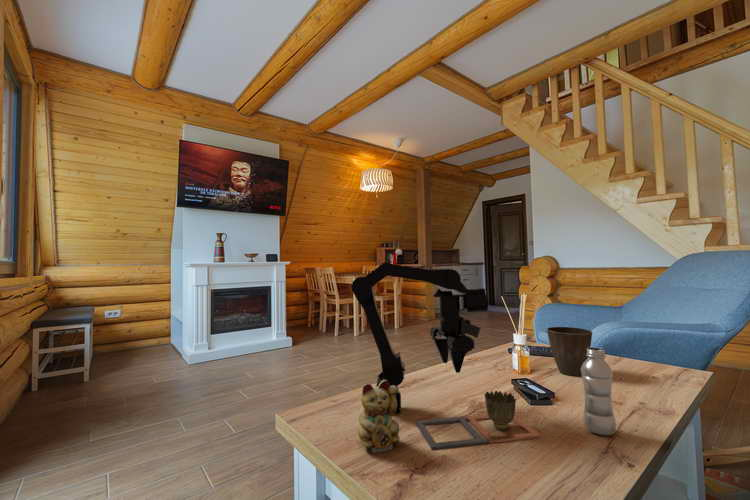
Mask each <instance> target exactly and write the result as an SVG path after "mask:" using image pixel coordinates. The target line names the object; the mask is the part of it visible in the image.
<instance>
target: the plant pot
mask: <svg viewBox="0 0 750 500" xmlns="http://www.w3.org/2000/svg"><path fill="white" fill-rule="evenodd" d="M546 331H547V337H548V343H549V345H550V350H551V353H552V356H553V359H554V362H555V364H556V367H557V369H558V371H559V373H560V374H562V375H565V376H569V377H570V376H571V377H579V376H581V377H582V373H581V366H582V364H583V363H584V362H585V361H586V360H587V358H588V356H587V355H586V354H587V348H590V347H591V345H592V340H593V339H592V338H593V331H591V330H589V329H585V328H579V327H570V326H569V327H568V326H551V327H547V328H546Z"/></svg>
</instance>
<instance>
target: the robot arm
mask: <svg viewBox="0 0 750 500" xmlns="http://www.w3.org/2000/svg"><path fill="white" fill-rule="evenodd" d="M386 277H393V278H401V279H408V280H414V281H419V282H426V283H429V284H432V285H434V286H435V285H436V286H438V288H436V290H435V291H434V292H433V293H432V296H433V298H439V314H437V319H438V320H439V326H432V327H431V328H430V330H429V334H430V335H429V336H430V338H431V339H432V341H433V343H434V345H435V347H436V349H437V352H438V354H439V356H440V359H441V361H442V362H443V364H447V363H448V360H449V356H450V359H451V362H452V365H453V368H454V371H455V373H456V374H457V373H461V370H462V366H463V363H464V359H465V357H466V354H468V353H469V352H471V351H473V350H474V349H475V347H476V346H475V340H474V339H473V338H475V339H478V338H479V335H480V331H481V327H480V326H478V325H474V324H472V323H471V320H469V319H468V318H464V317H463V316H462V315H461V310H464V311H465V313H487V312H488V309H489V301H488V297H487V294H486V289H485V288H484V287H483V288H482V287H481V288H480V287H479V288H467V287H466V285H464V283H463V282H462V281H461V280H462V278H461V275H460V273H459V271H457V270H456V269H451V268H434V269H433V268H432V269H431V268H429V269H428V268H421V267H415V266H407V265H402V264H394V263H390V262H386V261H384V262H382V263H381V264H379V266H378V267H376V268H375V269H374V270H372V271H371V272H369V273H368V274H367V275H366V274H365V276H364V275H362V276H359V277H357V278H355V279H354V280H353V281H352V283H351V285H350V286H351V291H352V293H353V295H354V296H355V298H356V301H357V302H358V304H359V305H360V306H361V307H362V309H363V311H364V314H365V316H366V320H367V322H368V325H369V328H370V330H371V333H372V336H373V340H374V342H375V345H376V348H377V350H378V353H379V356H380V362H381V370H382V371H381V372H380V373H379V374H378V375H377V378H376V386H379V384H380V382H381V381H383V380H387V381H388V382H389V386H392V385H394V386H396V387H397V388H398V389H399V390H400V388H399V387H398V386H400V385H401V384H402V383H403V382H404V379H405V373H404V372H406V366H405V365H406V364H405V363H404V361H403V360H402V357H401V355H402V354H401V352H400V351H398V352H395V350H394V349H393V348H392V345H391V342H390V339H389V337H388V334H387V331H386V328H385V325H384V322H383V321H382V317H381V314H380V311H379V309H378V306H377V301H376V296H375V291H374V290H375V289H374V286H376V284H378V283H380V281H382V280H384V279H385V278H386ZM439 287H441V288H444V289H446V290H441V289H440V288H439ZM452 290H453V291H455V292H458V293H453V292H452ZM468 335H469V336H468ZM470 336H472V337H473V338H472V337H470ZM401 394H402V393H401V392H400V391H399V392H398V393H397V394H395V396H396V400H397V410H396V412H395V413H394V414H401V413H402V411H401V408H402V395H401ZM394 414H393V415H394Z"/></svg>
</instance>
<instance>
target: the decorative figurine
mask: <svg viewBox="0 0 750 500" xmlns="http://www.w3.org/2000/svg"><path fill="white" fill-rule="evenodd" d="M397 387H398V386H397ZM397 387H396V386H394V385H392V386H389V382H388V381H387V380H383V381H381V382H380V384H379V386H372V385H371V384H370V383H365V384H364V385H363V387H362V395H361V398H360V399H361V404H362V407H363V410H362V411H361V412H360V414H359V416H358V422H359V426H358V428H357V434H358V437H359V440H360V442H361V445H362V446H363V447H364V448H365V449H369V450H370V451H371V453H373V454H375V453H381V452H386V451H390V450H393V444H395V443H398V442H400V440H401V439H400V436H399V433H400V424H399V422H398V421H397V420H394V419H392V418H393V417H392V416H393V415H394V413H395V412H396V410H397V400H396V396H395V394H397V393H398V392H400V388H399V387H398V388H399V389H398V388H397Z"/></svg>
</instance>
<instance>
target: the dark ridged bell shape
mask: <svg viewBox="0 0 750 500" xmlns="http://www.w3.org/2000/svg"><path fill="white" fill-rule="evenodd" d="M484 401H485V406H486V412H487V413H486V414H488V416H489V418H490V419H489V420H491V421H492V422H493V423H492V425H493V427H494V428H495V429H497V430H499V431H506V430H508V429H509V426H510V424H511V423H512V421H513V418H514V415H515V412H516V403H517V398H516V397H515V395H514V394H513V393H511V392H510V393H507V392H506V391H504V393H503V392H502V391H501V390H499V391H497V390H495V391H494V392H493V390H491V391H490V392H489V391H486V392H485V393H484Z"/></svg>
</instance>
